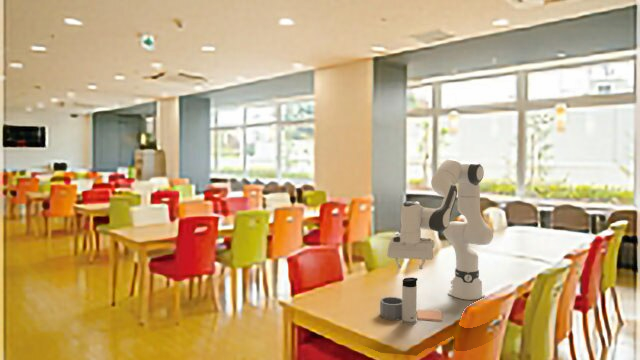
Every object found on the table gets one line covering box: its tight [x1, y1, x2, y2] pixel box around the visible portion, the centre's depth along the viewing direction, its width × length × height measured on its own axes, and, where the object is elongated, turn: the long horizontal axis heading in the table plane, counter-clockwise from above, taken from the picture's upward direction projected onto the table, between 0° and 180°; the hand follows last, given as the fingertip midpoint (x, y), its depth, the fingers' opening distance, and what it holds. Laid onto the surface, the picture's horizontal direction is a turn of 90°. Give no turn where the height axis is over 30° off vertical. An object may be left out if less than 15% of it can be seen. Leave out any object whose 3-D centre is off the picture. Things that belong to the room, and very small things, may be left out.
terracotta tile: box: [416, 309, 443, 322], centre depth 213 cm, size 11×11×1 cm
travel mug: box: [401, 277, 418, 325], centre depth 206 cm, size 6×7×20 cm
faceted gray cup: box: [379, 296, 402, 321], centre depth 214 cm, size 11×11×7 cm
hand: (409, 268), depth 205 cm, fingers open, 8 cm apart
